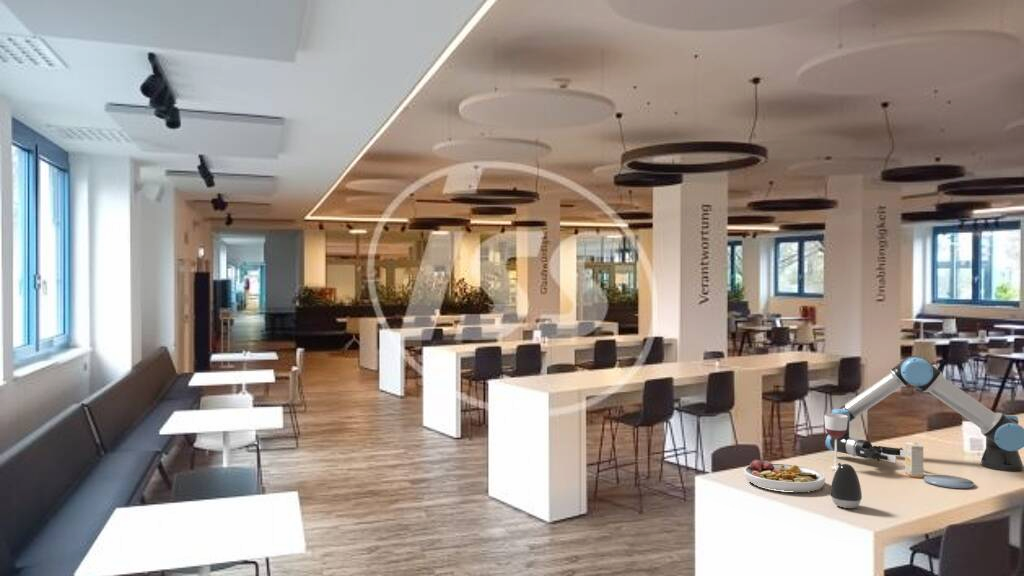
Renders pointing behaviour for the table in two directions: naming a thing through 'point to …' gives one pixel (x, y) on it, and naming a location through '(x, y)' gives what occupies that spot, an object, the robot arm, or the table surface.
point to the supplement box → (914, 460)
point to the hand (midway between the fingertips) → (905, 457)
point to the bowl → (784, 476)
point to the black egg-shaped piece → (846, 487)
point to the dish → (948, 481)
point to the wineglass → (836, 428)
